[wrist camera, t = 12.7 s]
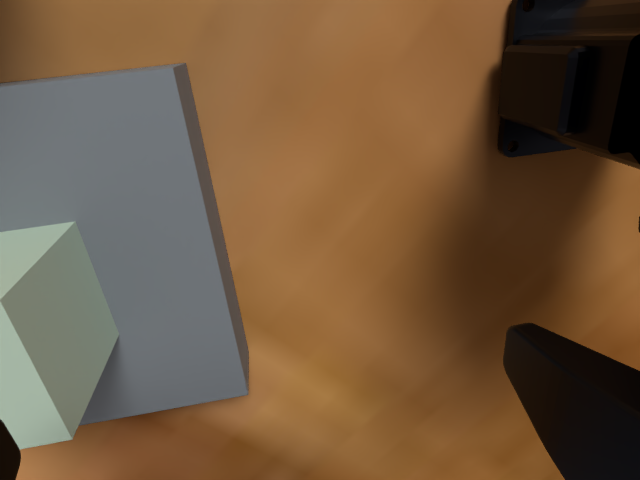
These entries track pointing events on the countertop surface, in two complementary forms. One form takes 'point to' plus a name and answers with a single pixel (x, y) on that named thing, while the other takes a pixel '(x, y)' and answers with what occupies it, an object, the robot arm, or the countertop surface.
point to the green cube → (49, 333)
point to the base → (132, 227)
